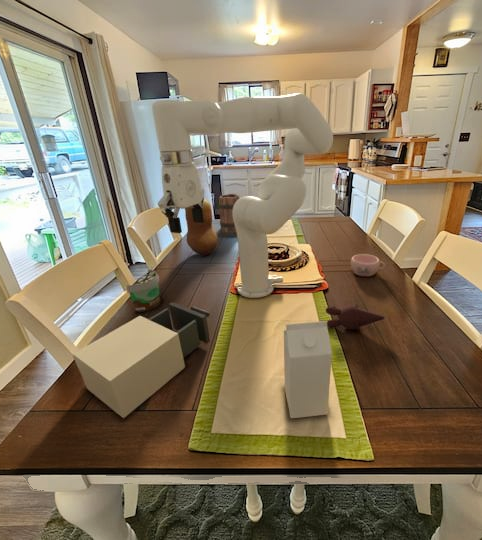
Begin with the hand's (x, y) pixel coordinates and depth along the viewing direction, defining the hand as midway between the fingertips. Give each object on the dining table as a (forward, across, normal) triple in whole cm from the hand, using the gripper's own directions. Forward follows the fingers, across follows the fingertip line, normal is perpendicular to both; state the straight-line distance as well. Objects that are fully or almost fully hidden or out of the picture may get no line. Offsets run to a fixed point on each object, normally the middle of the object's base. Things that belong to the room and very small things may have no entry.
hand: (188, 227), depth 77 cm
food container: (+27, -2, +17) cm, 32 cm away
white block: (+27, -28, -2) cm, 39 cm away
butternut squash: (+27, +41, +27) cm, 56 cm away
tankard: (+27, +74, +26) cm, 83 cm away
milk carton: (+27, -20, -39) cm, 51 cm away
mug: (+27, +43, -44) cm, 67 cm away
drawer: (+26, -16, -4) cm, 31 cm away
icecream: (+27, +8, -44) cm, 52 cm away
